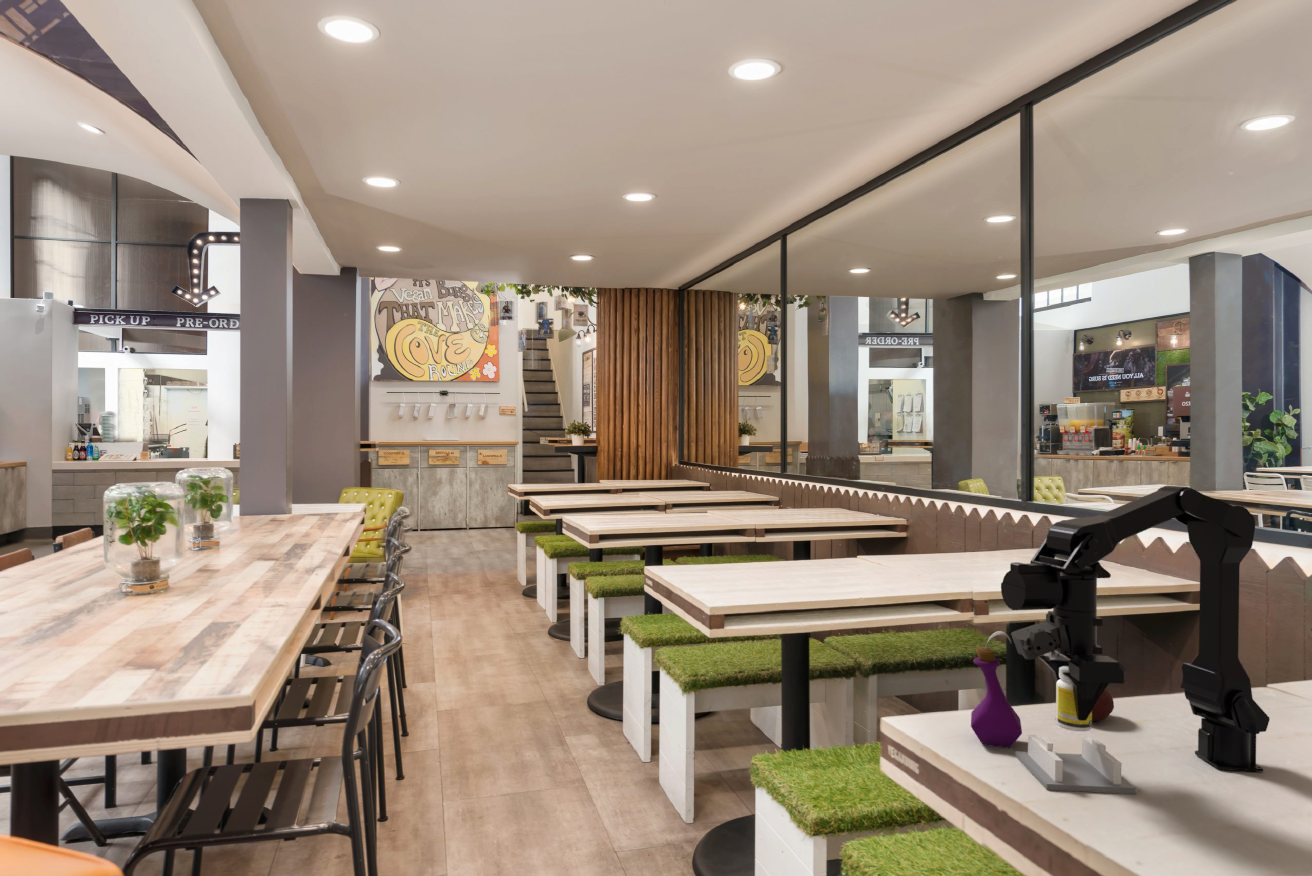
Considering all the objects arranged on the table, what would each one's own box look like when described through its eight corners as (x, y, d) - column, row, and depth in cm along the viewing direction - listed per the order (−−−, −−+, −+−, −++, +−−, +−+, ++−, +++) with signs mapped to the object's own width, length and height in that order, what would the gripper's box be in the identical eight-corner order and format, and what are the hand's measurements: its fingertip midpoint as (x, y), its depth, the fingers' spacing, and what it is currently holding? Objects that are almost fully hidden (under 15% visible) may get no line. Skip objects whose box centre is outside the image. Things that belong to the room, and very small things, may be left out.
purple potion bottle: (970, 746, 129) (972, 634, 129) (971, 731, 136) (972, 624, 136) (1021, 754, 127) (1023, 639, 127) (1019, 738, 133) (1021, 629, 134)
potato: (1054, 717, 144) (1054, 683, 144) (1084, 707, 150) (1085, 674, 150) (1095, 730, 138) (1095, 694, 138) (1125, 719, 144) (1126, 684, 144)
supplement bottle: (1096, 733, 116) (1097, 675, 116) (1061, 730, 117) (1061, 672, 117) (1085, 722, 121) (1086, 666, 121) (1051, 719, 122) (1052, 664, 122)
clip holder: (1095, 760, 124) (1096, 728, 124) (1135, 793, 112) (1136, 759, 112) (1015, 756, 125) (1015, 725, 125) (1046, 789, 113) (1047, 755, 113)
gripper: (996, 594, 129) (996, 692, 129) (1043, 620, 110) (1042, 735, 110) (1068, 596, 128) (1068, 695, 128) (1128, 622, 109) (1127, 738, 109)
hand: (1074, 714), depth 119 cm, fingers closed on supplement bottle, 5 cm apart
